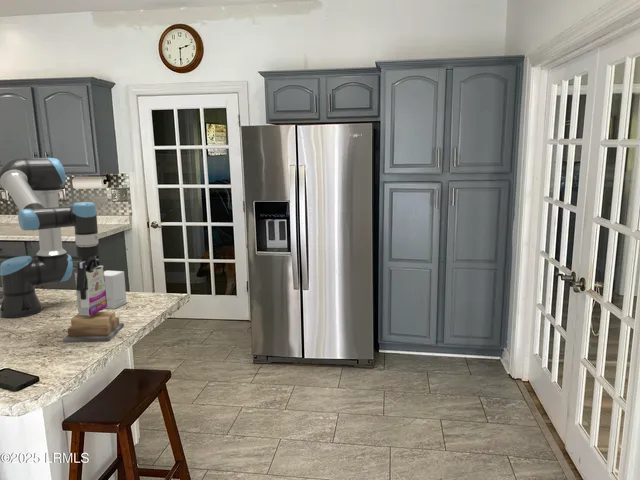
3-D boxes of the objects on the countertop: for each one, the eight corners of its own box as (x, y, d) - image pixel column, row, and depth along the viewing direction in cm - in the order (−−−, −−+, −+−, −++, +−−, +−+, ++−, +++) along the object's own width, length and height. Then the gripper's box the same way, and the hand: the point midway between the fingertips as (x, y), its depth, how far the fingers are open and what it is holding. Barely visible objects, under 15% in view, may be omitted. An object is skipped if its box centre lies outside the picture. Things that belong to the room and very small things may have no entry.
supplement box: (127, 303, 223) (125, 271, 221) (114, 309, 215) (112, 275, 212) (109, 301, 225) (107, 269, 223) (96, 307, 217) (93, 274, 214)
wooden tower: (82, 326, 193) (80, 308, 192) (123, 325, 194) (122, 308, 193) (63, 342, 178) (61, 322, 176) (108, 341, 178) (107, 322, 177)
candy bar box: (95, 306, 190) (92, 265, 187) (107, 307, 190) (104, 265, 187) (77, 316, 179) (73, 272, 176) (90, 316, 179) (86, 272, 176)
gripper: (84, 251, 168) (89, 312, 172) (110, 239, 192) (114, 293, 196) (61, 251, 168) (67, 312, 172) (90, 239, 192) (94, 293, 195)
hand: (92, 302), depth 184 cm, fingers closed on candy bar box, 12 cm apart
